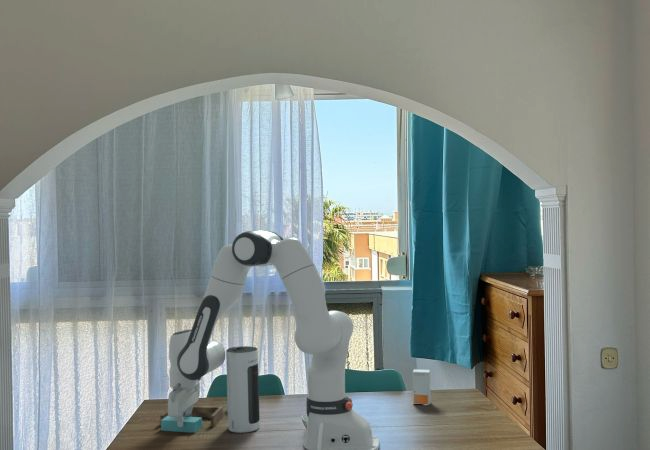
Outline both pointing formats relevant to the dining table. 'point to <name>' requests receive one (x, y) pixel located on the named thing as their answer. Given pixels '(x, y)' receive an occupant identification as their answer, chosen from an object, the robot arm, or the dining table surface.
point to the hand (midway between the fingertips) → (184, 422)
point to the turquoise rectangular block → (189, 425)
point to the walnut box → (204, 413)
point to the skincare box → (421, 387)
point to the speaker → (242, 389)
